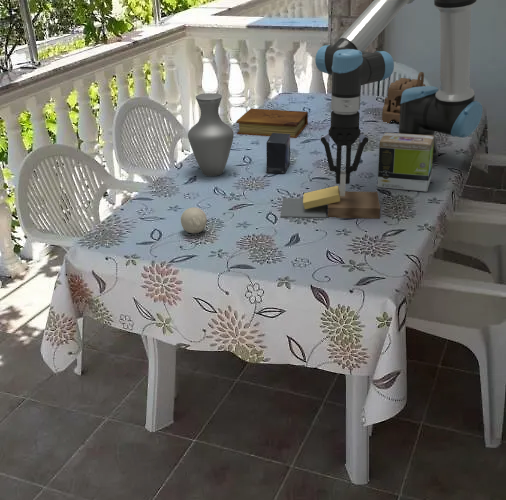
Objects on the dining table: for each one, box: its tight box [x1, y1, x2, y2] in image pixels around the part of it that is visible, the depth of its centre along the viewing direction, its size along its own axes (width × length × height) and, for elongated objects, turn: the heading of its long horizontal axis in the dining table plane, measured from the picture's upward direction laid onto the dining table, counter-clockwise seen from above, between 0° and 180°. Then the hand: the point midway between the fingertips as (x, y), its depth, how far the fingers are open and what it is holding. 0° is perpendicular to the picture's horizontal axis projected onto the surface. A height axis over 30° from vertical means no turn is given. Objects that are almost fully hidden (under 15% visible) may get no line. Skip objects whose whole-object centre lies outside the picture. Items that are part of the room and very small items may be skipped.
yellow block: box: [303, 185, 340, 209], centre depth 193 cm, size 10×7×2 cm
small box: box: [265, 133, 291, 175], centre depth 223 cm, size 11×6×10 cm, turn 168°
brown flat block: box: [327, 190, 381, 220], centre depth 193 cm, size 14×12×3 cm
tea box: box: [377, 132, 434, 193], centre depth 207 cm, size 15×10×15 cm, turn 71°
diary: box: [236, 108, 309, 139], centre depth 264 cm, size 23×19×6 cm
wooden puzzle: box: [381, 71, 426, 124], centre depth 271 cm, size 22×15×19 cm, turn 147°
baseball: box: [180, 207, 208, 234], centre depth 181 cm, size 7×7×7 cm
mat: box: [280, 197, 327, 219], centre depth 195 cm, size 12×13×1 cm
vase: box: [187, 92, 235, 177], centre depth 217 cm, size 14×14×25 cm
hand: (342, 194), depth 192 cm, fingers closed
